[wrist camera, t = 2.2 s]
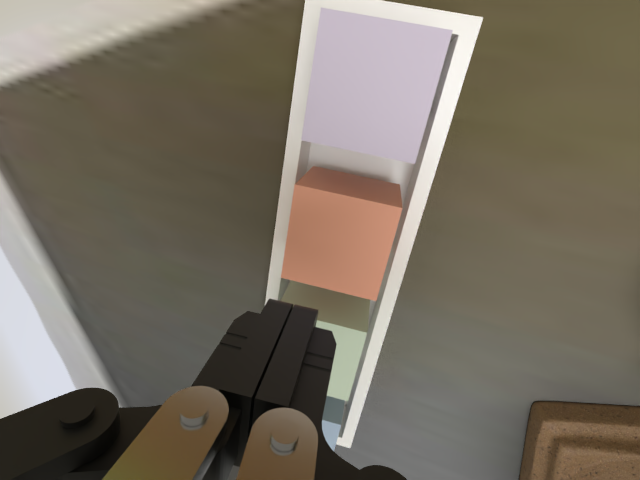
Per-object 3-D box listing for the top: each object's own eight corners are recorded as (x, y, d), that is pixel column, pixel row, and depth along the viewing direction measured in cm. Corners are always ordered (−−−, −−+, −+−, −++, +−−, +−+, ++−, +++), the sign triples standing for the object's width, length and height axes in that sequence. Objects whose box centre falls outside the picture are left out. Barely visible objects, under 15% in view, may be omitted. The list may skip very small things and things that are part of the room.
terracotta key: (378, 262, 22) (376, 301, 18) (300, 243, 23) (280, 277, 19) (399, 184, 20) (402, 208, 16) (313, 165, 21) (294, 184, 17)
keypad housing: (354, 406, 31) (350, 448, 27) (265, 381, 32) (249, 419, 28) (465, 31, 19) (483, 17, 16) (321, 6, 20) (306, -13, 17)
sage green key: (354, 350, 25) (347, 401, 21) (285, 332, 25) (265, 378, 21) (371, 289, 23) (367, 332, 19) (295, 271, 23) (275, 309, 19)
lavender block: (409, 148, 19) (415, 164, 15) (319, 130, 20) (301, 140, 16) (438, 44, 17) (452, 30, 13) (336, 26, 18) (321, 7, 14)
